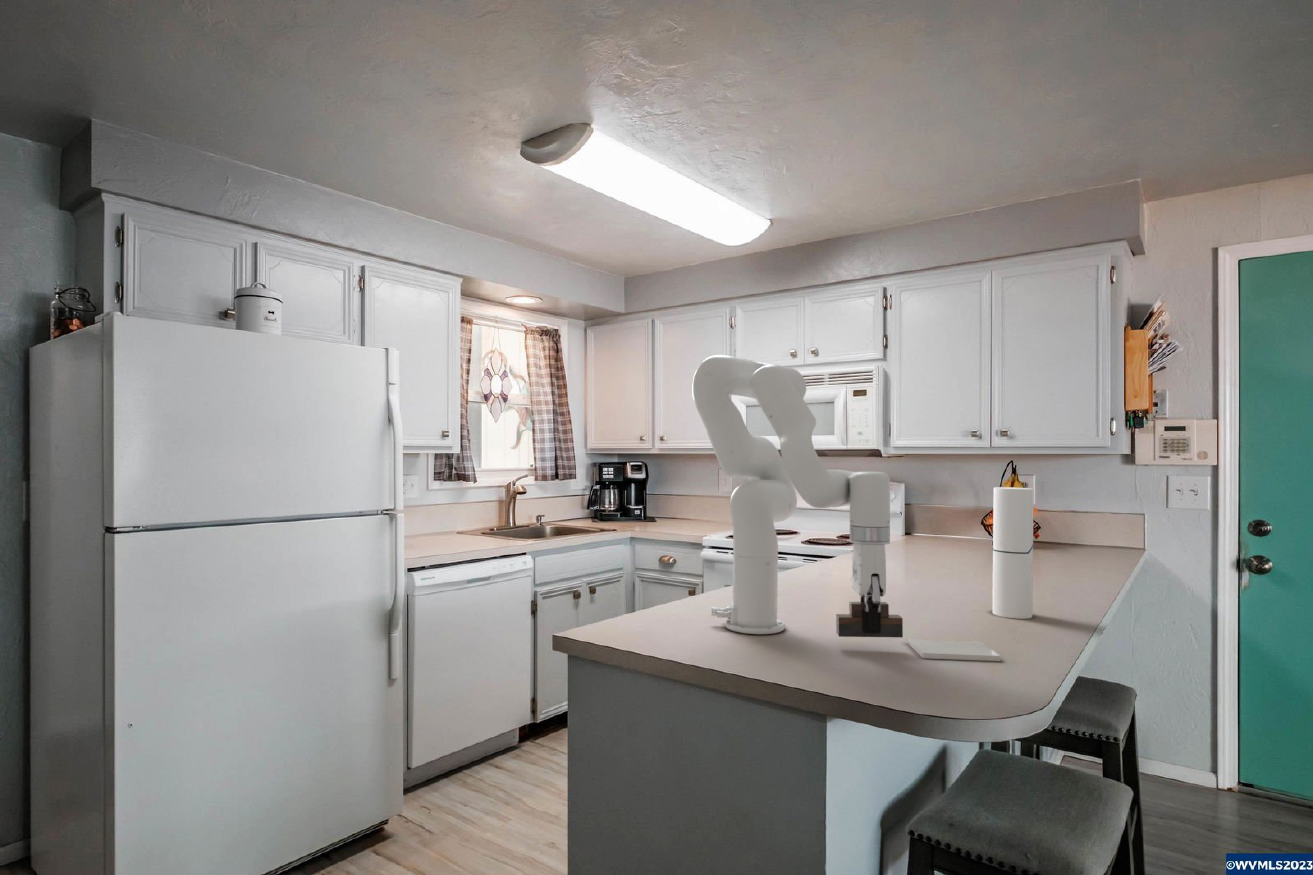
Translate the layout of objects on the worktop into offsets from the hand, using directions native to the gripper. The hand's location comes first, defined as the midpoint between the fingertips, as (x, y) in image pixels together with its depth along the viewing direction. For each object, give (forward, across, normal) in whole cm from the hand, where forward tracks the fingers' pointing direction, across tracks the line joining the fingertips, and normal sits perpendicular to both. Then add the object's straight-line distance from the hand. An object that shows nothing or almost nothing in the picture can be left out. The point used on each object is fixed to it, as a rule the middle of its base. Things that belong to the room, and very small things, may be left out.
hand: (869, 629), depth 143 cm
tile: (+4, 0, +16) cm, 16 cm away
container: (+4, -36, +41) cm, 55 cm away
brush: (+1, 0, 0) cm, 1 cm away
